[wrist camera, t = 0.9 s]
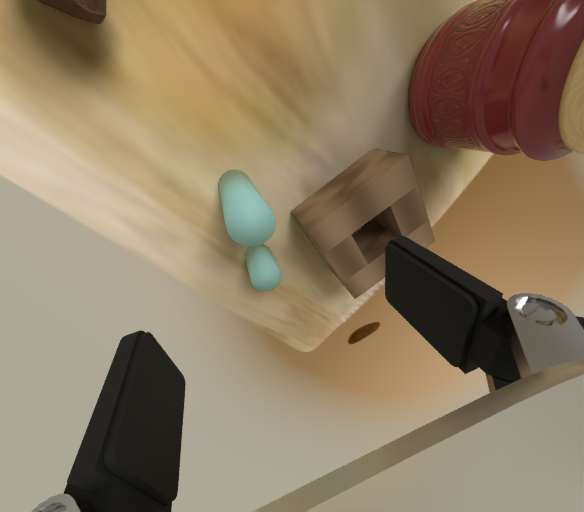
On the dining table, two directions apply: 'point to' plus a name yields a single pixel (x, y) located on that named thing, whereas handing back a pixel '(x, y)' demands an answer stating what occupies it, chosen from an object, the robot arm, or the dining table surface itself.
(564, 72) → the canister
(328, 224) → the socket block
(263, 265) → the short dowel
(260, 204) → the tall dowel
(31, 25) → the dining table surface
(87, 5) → the bolt
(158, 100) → the dining table surface
